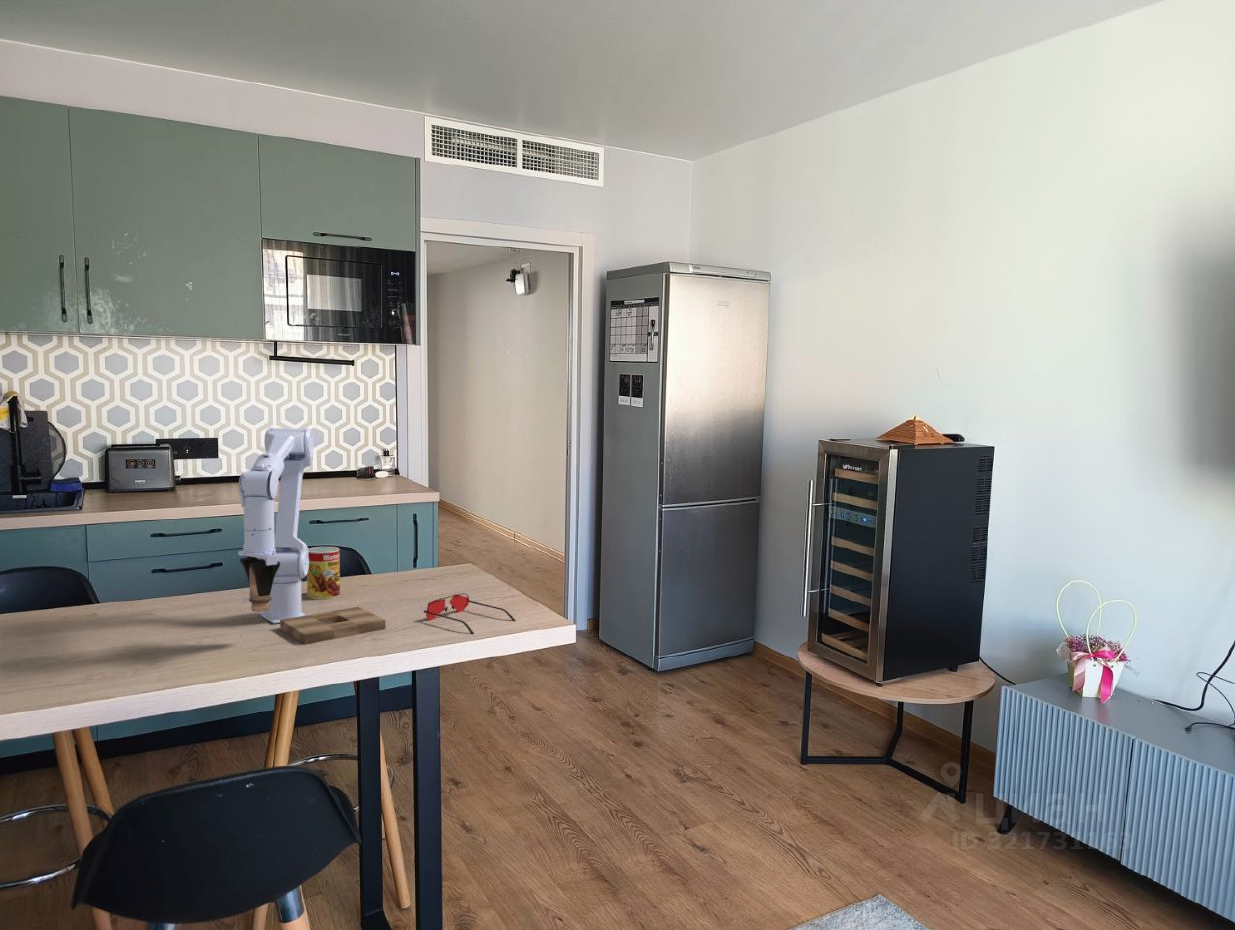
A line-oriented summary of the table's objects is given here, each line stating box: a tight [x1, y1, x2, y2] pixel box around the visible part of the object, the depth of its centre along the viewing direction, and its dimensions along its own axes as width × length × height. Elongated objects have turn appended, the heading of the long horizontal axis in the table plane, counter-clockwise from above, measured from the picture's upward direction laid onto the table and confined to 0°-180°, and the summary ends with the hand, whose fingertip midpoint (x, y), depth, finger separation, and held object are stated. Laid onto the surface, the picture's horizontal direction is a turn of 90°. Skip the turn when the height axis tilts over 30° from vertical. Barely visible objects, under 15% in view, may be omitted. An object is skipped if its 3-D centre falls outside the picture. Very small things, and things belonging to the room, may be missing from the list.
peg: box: [248, 567, 271, 613], centre depth 170 cm, size 4×4×9 cm
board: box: [279, 606, 387, 645], centre depth 181 cm, size 14×18×2 cm
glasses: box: [423, 592, 517, 635], centre depth 190 cm, size 14×16×5 cm
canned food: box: [306, 546, 341, 601], centre depth 209 cm, size 8×8×12 cm
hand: (260, 593), depth 170 cm, fingers closed on peg, 4 cm apart
